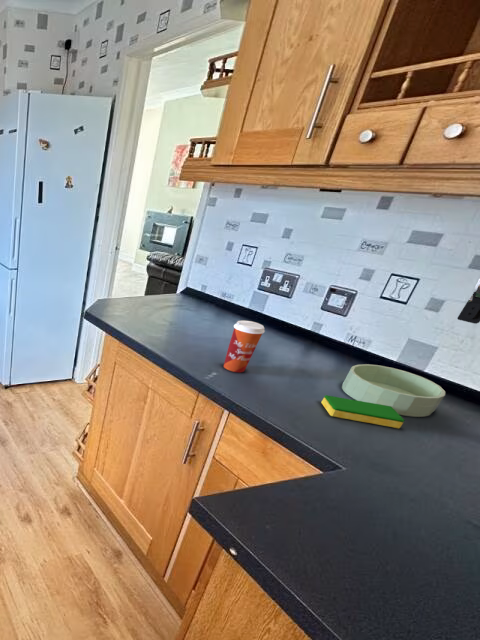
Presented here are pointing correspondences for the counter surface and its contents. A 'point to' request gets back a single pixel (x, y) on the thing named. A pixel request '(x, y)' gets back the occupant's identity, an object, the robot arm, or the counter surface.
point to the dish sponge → (362, 411)
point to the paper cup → (242, 345)
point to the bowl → (393, 389)
